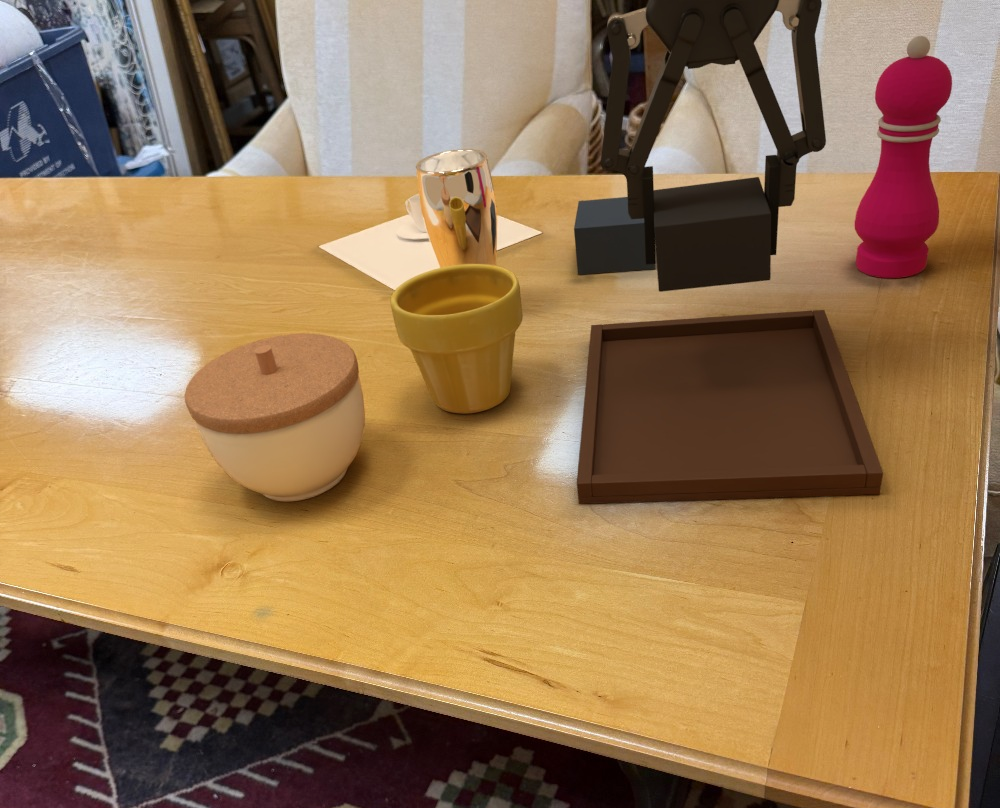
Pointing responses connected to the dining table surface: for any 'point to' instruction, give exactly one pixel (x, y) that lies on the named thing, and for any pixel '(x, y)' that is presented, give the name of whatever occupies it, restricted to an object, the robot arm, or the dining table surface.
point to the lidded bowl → (281, 413)
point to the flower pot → (461, 332)
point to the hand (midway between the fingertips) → (709, 252)
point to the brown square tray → (721, 412)
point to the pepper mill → (903, 166)
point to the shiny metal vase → (459, 207)
